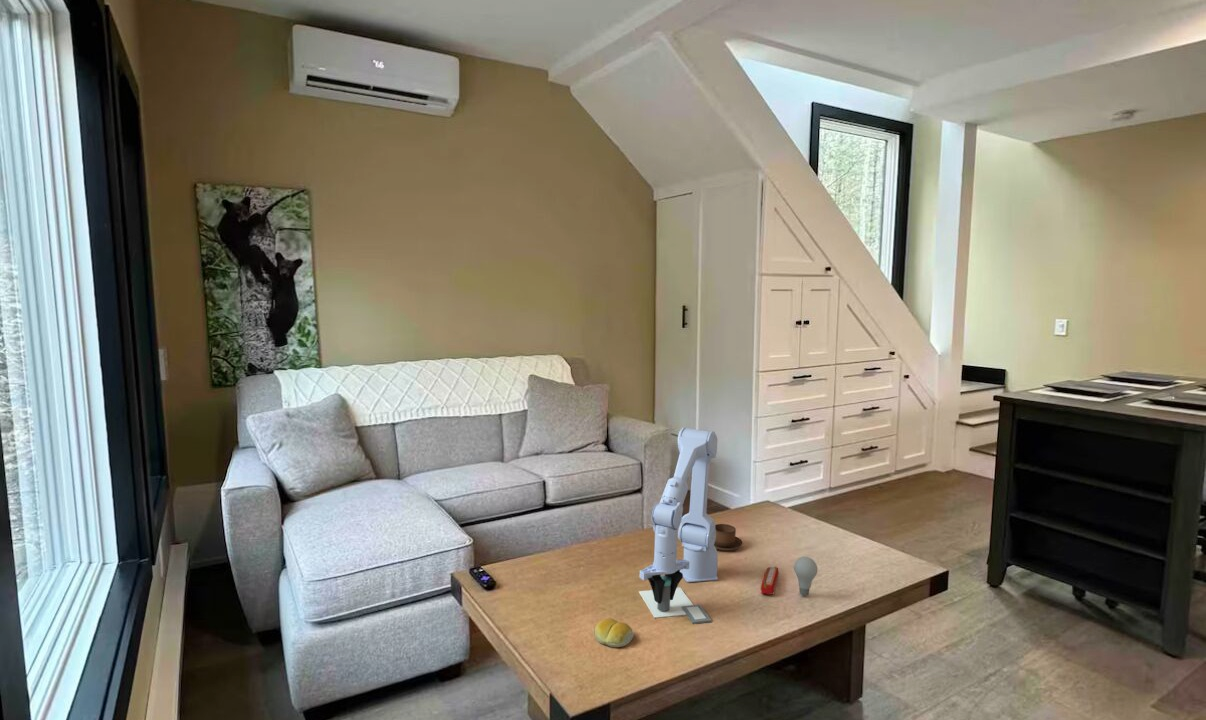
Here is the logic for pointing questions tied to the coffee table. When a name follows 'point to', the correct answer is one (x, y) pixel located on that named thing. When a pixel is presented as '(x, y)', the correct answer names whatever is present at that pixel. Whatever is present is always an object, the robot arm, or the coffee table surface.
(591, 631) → the coffee table surface
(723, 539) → the cup and saucer
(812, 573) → the lightbulb
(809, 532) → the coffee table surface
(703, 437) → the robot arm
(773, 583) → the candy bar
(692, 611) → the picture frame
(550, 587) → the coffee table surface
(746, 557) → the coffee table surface
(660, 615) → the paper
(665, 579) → the grey teal-capped tube
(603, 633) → the bread roll
